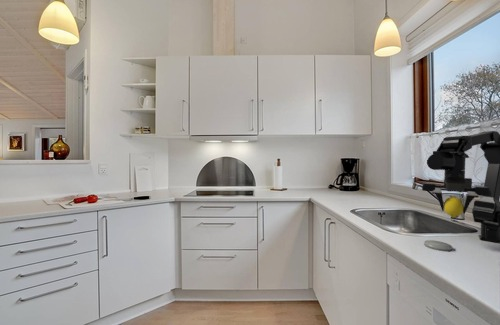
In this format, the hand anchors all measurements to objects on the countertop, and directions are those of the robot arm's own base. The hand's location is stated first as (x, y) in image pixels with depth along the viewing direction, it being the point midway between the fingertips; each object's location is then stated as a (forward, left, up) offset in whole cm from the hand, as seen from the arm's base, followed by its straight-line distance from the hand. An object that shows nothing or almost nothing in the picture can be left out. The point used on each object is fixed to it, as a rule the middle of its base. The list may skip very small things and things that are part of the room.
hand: (453, 212), depth 87 cm
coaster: (+5, -4, -13) cm, 14 cm away
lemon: (0, 0, -2) cm, 2 cm away
